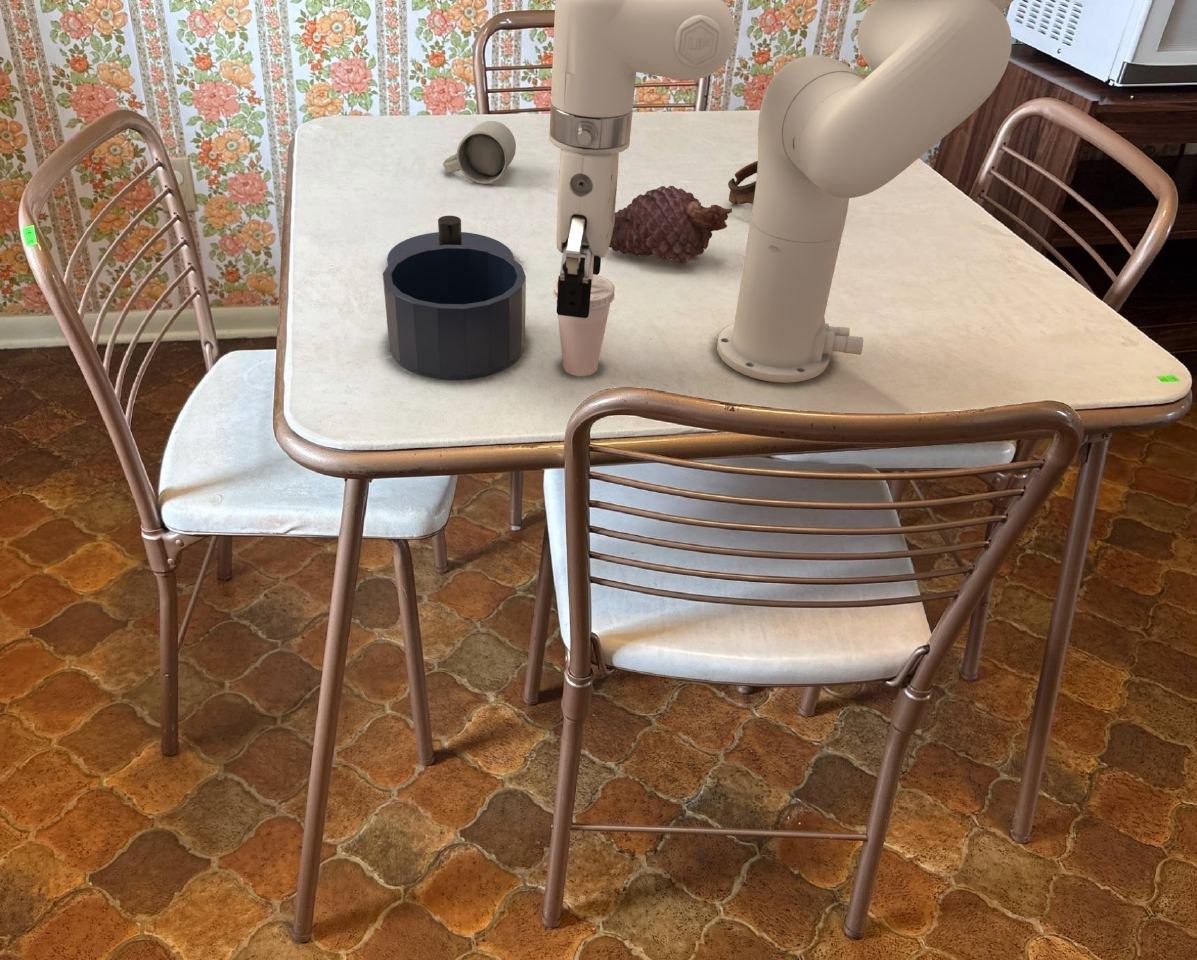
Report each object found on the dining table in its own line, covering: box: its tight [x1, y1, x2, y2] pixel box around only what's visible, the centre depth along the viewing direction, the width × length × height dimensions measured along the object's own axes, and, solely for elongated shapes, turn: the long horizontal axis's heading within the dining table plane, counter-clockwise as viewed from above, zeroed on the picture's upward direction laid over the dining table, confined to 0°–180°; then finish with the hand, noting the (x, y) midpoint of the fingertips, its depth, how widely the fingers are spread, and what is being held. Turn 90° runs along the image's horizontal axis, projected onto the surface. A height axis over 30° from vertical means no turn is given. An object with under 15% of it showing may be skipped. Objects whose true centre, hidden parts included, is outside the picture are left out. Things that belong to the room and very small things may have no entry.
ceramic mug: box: [442, 120, 517, 185], centre depth 147 cm, size 11×8×8 cm
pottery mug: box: [727, 160, 758, 206], centre depth 143 cm, size 12×10×8 cm
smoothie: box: [552, 254, 616, 377], centre depth 103 cm, size 6×6×14 cm
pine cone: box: [609, 185, 733, 264], centre depth 128 cm, size 18×10×10 cm
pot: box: [382, 245, 527, 381], centre depth 107 cm, size 15×15×8 cm
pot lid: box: [386, 215, 515, 265], centre depth 123 cm, size 16×16×6 cm
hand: (578, 293), depth 102 cm, fingers open, 9 cm apart
